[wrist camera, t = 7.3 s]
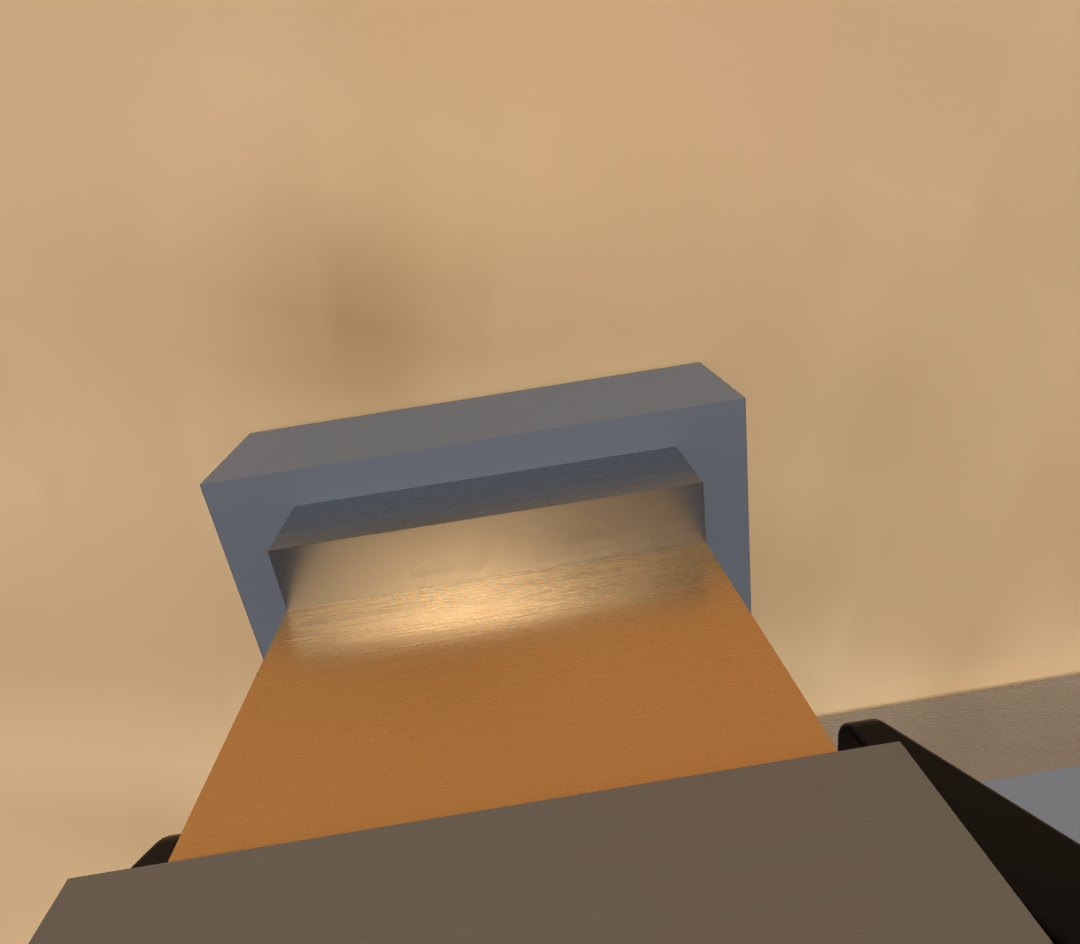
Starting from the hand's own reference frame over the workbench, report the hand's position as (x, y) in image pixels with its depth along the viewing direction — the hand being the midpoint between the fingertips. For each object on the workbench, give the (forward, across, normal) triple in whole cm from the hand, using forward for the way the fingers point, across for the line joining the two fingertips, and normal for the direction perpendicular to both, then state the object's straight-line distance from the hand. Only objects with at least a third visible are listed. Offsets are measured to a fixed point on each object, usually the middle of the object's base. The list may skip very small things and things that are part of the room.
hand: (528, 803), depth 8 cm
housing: (+2, 0, 0) cm, 2 cm away
